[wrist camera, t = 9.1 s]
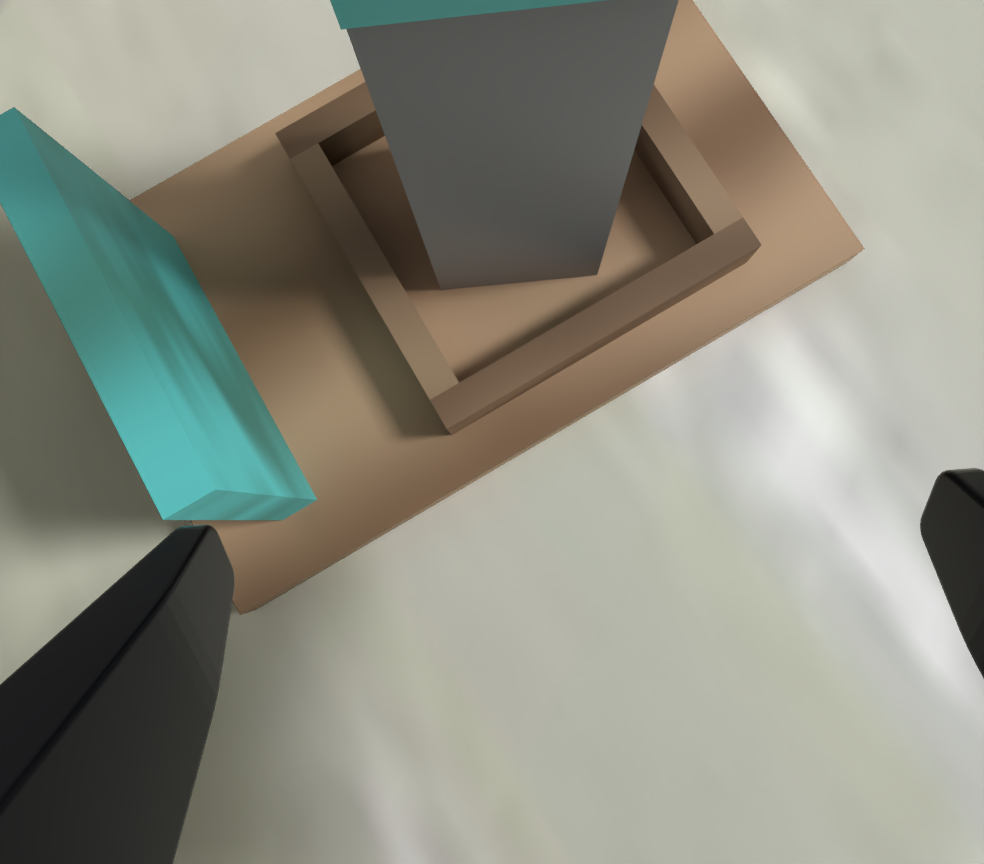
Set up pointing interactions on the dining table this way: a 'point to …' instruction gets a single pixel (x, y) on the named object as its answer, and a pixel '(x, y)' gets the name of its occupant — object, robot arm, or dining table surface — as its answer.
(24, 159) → the tray
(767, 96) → the dining table surface
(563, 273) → the panel
